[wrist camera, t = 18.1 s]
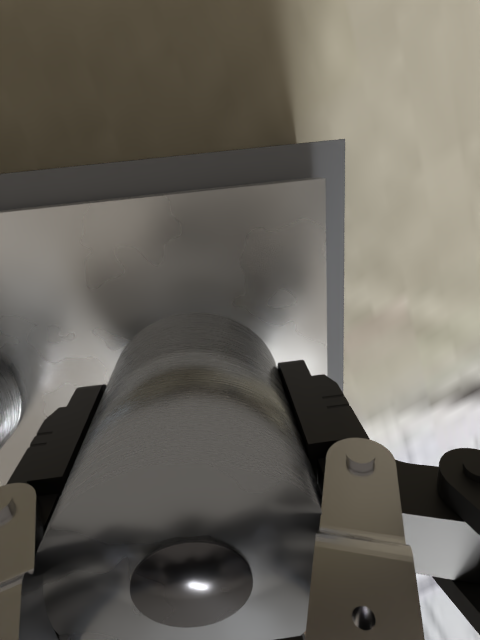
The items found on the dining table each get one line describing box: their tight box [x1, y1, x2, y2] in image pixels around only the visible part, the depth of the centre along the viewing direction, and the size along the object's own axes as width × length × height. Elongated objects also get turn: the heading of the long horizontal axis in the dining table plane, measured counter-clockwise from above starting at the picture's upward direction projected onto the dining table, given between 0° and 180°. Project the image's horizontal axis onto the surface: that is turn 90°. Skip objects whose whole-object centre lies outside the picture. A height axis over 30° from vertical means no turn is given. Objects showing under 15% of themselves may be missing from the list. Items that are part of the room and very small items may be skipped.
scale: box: [0, 139, 345, 640], centre depth 15 cm, size 18×18×16 cm
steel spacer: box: [36, 312, 322, 640], centre depth 9 cm, size 5×5×6 cm
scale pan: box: [0, 177, 327, 487], centre depth 14 cm, size 16×13×1 cm
